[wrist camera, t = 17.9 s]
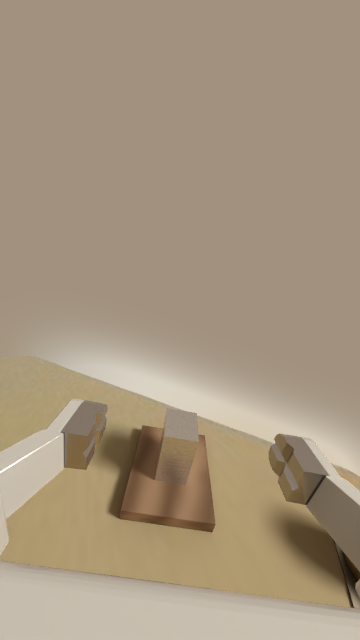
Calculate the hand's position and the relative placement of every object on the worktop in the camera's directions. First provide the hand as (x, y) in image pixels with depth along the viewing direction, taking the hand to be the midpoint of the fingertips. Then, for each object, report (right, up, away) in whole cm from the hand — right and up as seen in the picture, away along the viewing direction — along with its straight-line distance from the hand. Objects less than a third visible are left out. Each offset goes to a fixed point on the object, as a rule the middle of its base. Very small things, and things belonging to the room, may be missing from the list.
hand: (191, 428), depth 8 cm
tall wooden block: (-2, -22, +24) cm, 32 cm away
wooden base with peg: (-2, -23, +24) cm, 34 cm away
